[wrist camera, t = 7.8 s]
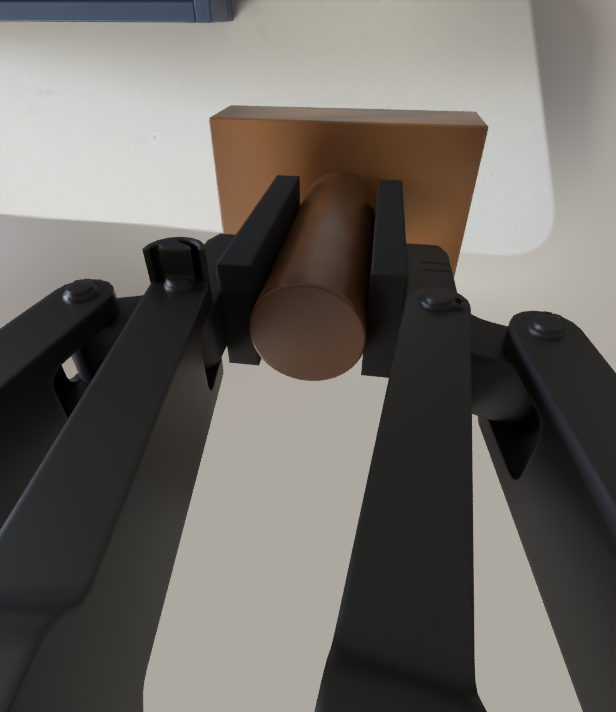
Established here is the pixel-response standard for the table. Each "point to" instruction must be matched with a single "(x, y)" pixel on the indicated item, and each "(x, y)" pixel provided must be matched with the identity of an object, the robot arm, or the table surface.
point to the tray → (117, 10)
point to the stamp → (339, 213)
